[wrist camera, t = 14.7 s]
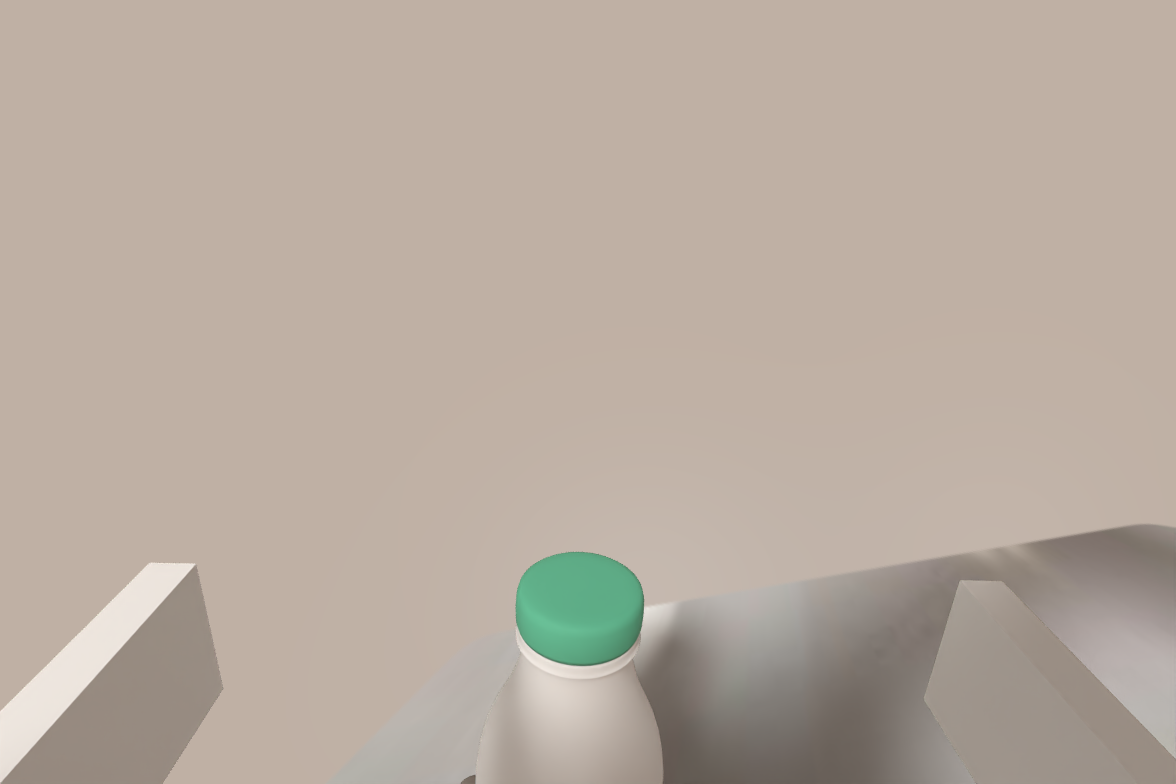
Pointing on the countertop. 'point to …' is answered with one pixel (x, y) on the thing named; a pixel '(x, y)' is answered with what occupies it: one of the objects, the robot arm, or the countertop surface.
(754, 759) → the countertop surface
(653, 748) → the milk bottle
